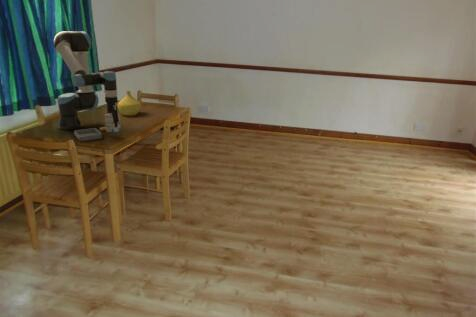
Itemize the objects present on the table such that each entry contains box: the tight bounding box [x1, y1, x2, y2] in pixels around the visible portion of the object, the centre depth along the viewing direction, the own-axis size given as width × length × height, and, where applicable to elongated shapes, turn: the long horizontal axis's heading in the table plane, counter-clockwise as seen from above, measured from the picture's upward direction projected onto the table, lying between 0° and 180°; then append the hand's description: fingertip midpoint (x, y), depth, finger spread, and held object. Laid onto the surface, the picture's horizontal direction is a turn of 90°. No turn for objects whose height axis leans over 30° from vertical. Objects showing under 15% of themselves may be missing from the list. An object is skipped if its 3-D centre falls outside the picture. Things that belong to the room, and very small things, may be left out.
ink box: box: [104, 112, 122, 134], centre depth 243 cm, size 9×5×12 cm, turn 69°
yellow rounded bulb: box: [117, 90, 142, 117], centre depth 299 cm, size 18×18×19 cm
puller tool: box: [98, 126, 106, 132], centre depth 260 cm, size 8×4×2 cm, turn 125°
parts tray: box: [73, 127, 103, 143], centre depth 243 cm, size 16×14×3 cm
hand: (113, 129), depth 245 cm, fingers closed on ink box, 9 cm apart
